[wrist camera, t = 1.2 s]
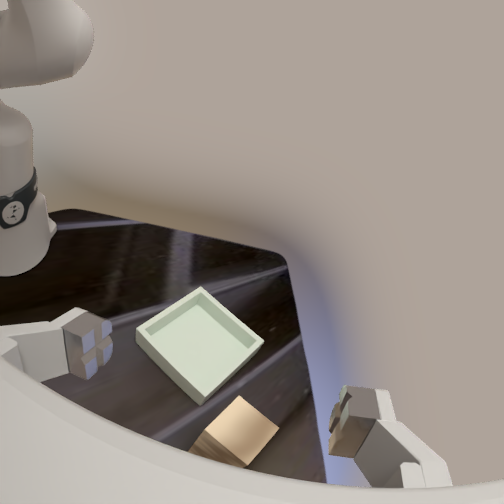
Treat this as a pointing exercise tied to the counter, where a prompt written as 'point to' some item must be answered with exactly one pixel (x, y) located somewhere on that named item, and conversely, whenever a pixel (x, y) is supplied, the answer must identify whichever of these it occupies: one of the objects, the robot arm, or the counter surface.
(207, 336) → the dish
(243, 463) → the oak block
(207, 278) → the counter surface
